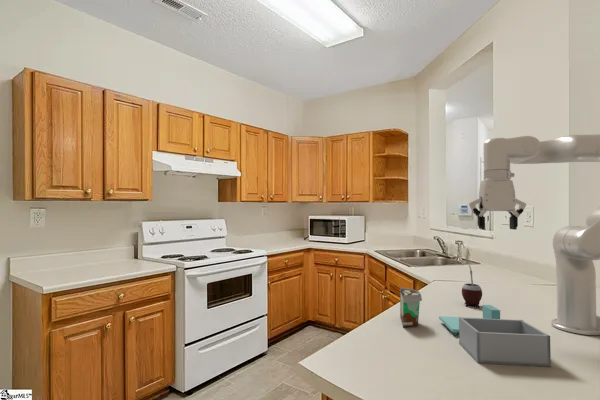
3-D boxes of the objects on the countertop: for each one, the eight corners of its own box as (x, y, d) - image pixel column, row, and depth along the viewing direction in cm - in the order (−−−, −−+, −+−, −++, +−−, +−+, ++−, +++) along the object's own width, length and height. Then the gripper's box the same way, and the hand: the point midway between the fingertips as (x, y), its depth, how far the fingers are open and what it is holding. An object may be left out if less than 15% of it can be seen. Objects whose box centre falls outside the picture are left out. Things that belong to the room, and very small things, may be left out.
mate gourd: (473, 309, 127) (472, 268, 128) (455, 303, 134) (455, 265, 135) (487, 307, 130) (486, 267, 131) (469, 302, 137) (469, 264, 138)
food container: (424, 330, 102) (424, 296, 103) (403, 329, 104) (403, 295, 104) (419, 318, 114) (419, 288, 115) (399, 317, 116) (399, 287, 116)
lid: (493, 324, 109) (493, 302, 109) (513, 339, 96) (513, 313, 96) (439, 322, 110) (438, 300, 111) (452, 336, 98) (452, 311, 98)
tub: (522, 346, 91) (521, 320, 91) (550, 366, 79) (550, 336, 79) (459, 343, 92) (459, 317, 93) (477, 362, 80) (477, 332, 81)
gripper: (518, 177, 115) (519, 229, 114) (464, 177, 117) (465, 228, 116) (531, 175, 107) (532, 230, 107) (473, 175, 109) (474, 229, 108)
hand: (497, 229), depth 111 cm, fingers open, 9 cm apart
